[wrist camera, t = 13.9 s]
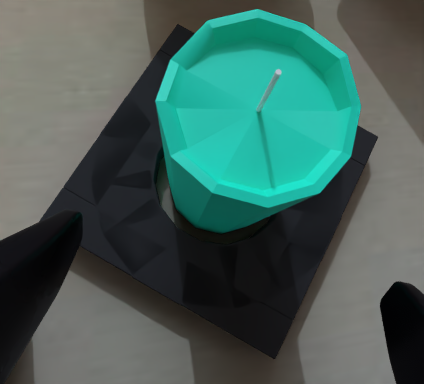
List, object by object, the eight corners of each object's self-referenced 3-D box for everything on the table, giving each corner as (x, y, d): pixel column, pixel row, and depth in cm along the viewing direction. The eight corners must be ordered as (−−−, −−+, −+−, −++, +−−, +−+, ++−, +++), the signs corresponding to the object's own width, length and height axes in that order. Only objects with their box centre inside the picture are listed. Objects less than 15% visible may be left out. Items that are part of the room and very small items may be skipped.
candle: (234, 120, 20) (308, -68, 8) (286, 201, 19) (446, 118, 8) (150, 166, 19) (102, 23, 7) (202, 253, 18) (240, 249, 7)
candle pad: (267, 352, 18) (275, 360, 16) (49, 225, 18) (37, 222, 16) (365, 145, 21) (379, 136, 19) (177, 39, 21) (177, 22, 19)
